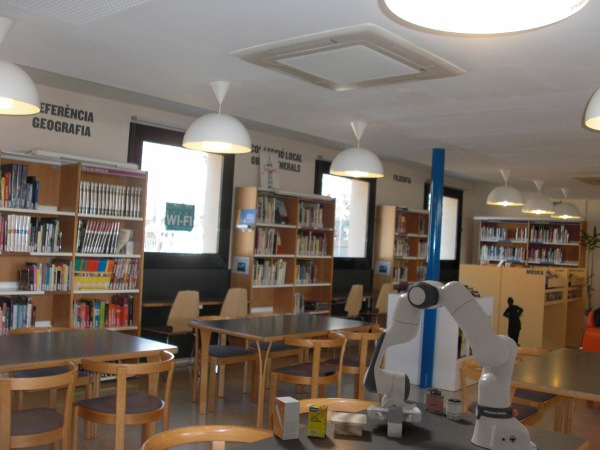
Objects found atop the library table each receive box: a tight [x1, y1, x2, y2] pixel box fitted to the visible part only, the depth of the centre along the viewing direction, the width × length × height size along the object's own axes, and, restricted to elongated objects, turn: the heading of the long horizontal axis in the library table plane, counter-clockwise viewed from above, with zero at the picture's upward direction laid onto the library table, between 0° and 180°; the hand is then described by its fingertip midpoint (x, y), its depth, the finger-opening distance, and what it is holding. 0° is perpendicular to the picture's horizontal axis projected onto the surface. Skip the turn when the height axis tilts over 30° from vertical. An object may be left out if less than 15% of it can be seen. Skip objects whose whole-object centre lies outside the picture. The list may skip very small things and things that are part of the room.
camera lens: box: [445, 398, 463, 421], centre depth 269 cm, size 6×6×8 cm
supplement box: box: [307, 403, 329, 440], centre depth 232 cm, size 6×6×11 cm
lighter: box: [424, 387, 445, 415], centre depth 278 cm, size 8×3×10 cm, turn 58°
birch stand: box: [330, 411, 368, 437], centre depth 241 cm, size 13×13×5 cm
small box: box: [272, 396, 301, 441], centre depth 230 cm, size 8×6×13 cm
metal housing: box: [386, 406, 403, 438], centre depth 239 cm, size 5×5×10 cm
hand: (395, 419), depth 239 cm, fingers open, 8 cm apart
